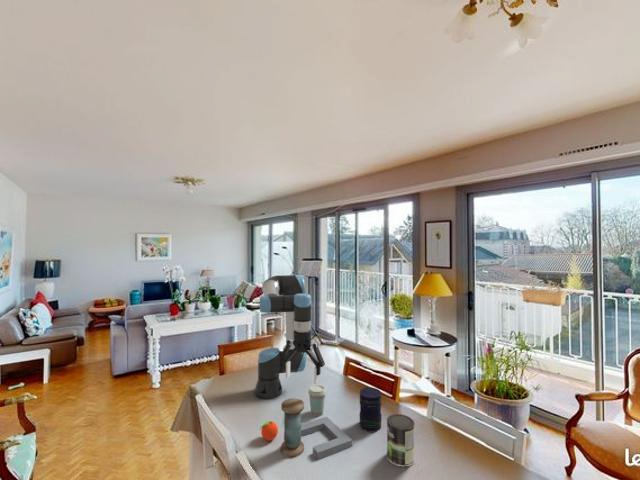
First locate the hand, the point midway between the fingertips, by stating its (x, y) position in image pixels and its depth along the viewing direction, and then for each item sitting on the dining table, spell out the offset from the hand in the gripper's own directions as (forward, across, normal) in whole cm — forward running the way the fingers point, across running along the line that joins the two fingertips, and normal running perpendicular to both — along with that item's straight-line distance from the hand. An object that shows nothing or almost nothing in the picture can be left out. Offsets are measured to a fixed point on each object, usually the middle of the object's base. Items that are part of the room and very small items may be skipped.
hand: (301, 379), depth 134 cm
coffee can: (+24, +41, +2) cm, 48 cm away
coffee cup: (+24, -1, +19) cm, 30 cm away
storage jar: (+24, +26, +19) cm, 40 cm away
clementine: (+24, -12, -8) cm, 28 cm away
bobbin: (+24, +1, -10) cm, 26 cm away
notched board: (+24, +9, +1) cm, 25 cm away
